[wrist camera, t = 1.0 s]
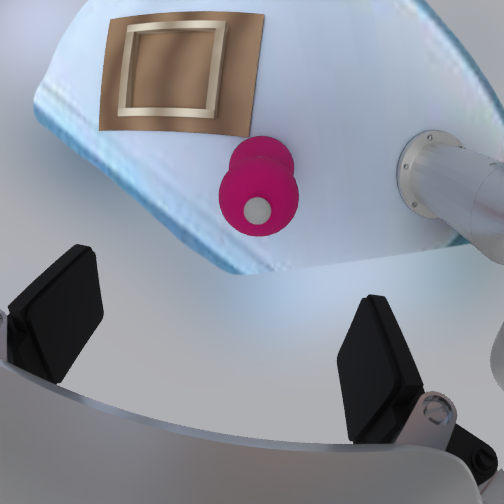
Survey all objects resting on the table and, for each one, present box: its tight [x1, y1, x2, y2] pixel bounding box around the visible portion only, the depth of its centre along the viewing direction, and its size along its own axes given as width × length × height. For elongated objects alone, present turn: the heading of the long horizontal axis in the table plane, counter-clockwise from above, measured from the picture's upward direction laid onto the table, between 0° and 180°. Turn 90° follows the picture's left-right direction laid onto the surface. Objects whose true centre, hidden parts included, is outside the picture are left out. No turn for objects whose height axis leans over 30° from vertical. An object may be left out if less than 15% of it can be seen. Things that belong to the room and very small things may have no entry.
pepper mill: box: [219, 136, 299, 236], centre depth 28 cm, size 7×7×20 cm
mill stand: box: [99, 11, 264, 137], centre depth 30 cm, size 20×16×3 cm
